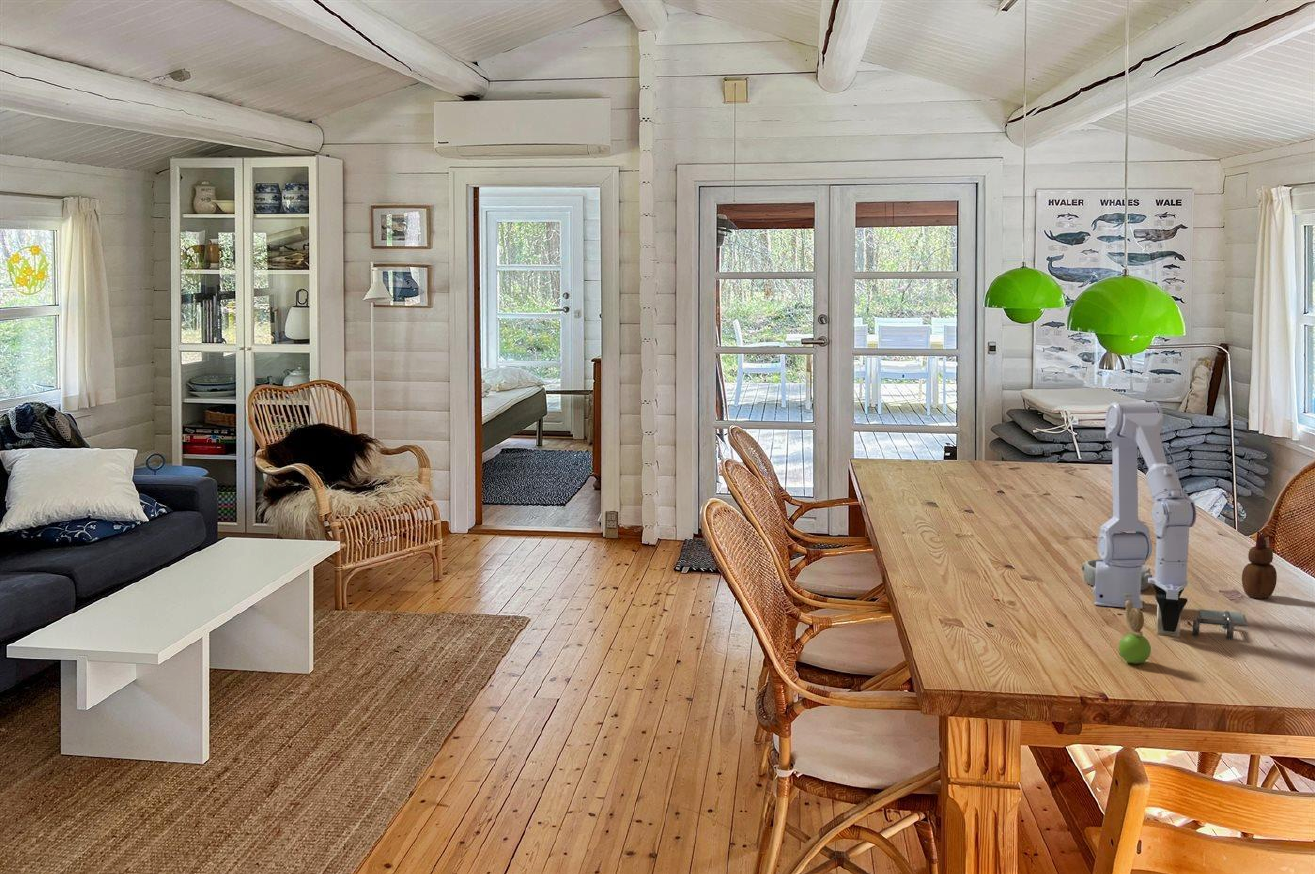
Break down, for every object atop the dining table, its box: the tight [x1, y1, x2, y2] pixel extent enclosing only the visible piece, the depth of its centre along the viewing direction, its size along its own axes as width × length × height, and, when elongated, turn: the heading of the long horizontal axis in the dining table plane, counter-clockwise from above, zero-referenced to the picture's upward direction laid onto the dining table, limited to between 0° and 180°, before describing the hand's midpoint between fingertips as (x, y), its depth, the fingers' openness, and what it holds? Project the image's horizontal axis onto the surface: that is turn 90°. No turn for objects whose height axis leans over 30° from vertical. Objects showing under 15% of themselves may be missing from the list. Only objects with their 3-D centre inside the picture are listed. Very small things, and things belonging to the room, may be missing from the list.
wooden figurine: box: [1241, 530, 1278, 600], centre depth 242 cm, size 7×6×15 cm
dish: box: [1081, 558, 1153, 591], centre depth 255 cm, size 14×14×5 cm
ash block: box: [1155, 602, 1182, 637], centre depth 219 cm, size 4×4×6 cm
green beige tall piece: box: [1118, 594, 1152, 665], centre depth 202 cm, size 5×6×12 cm
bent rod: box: [1191, 610, 1235, 640], centre depth 219 cm, size 7×8×4 cm
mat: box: [1198, 608, 1247, 627], centre depth 228 cm, size 8×8×1 cm
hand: (1168, 625), depth 219 cm, fingers open, 7 cm apart
